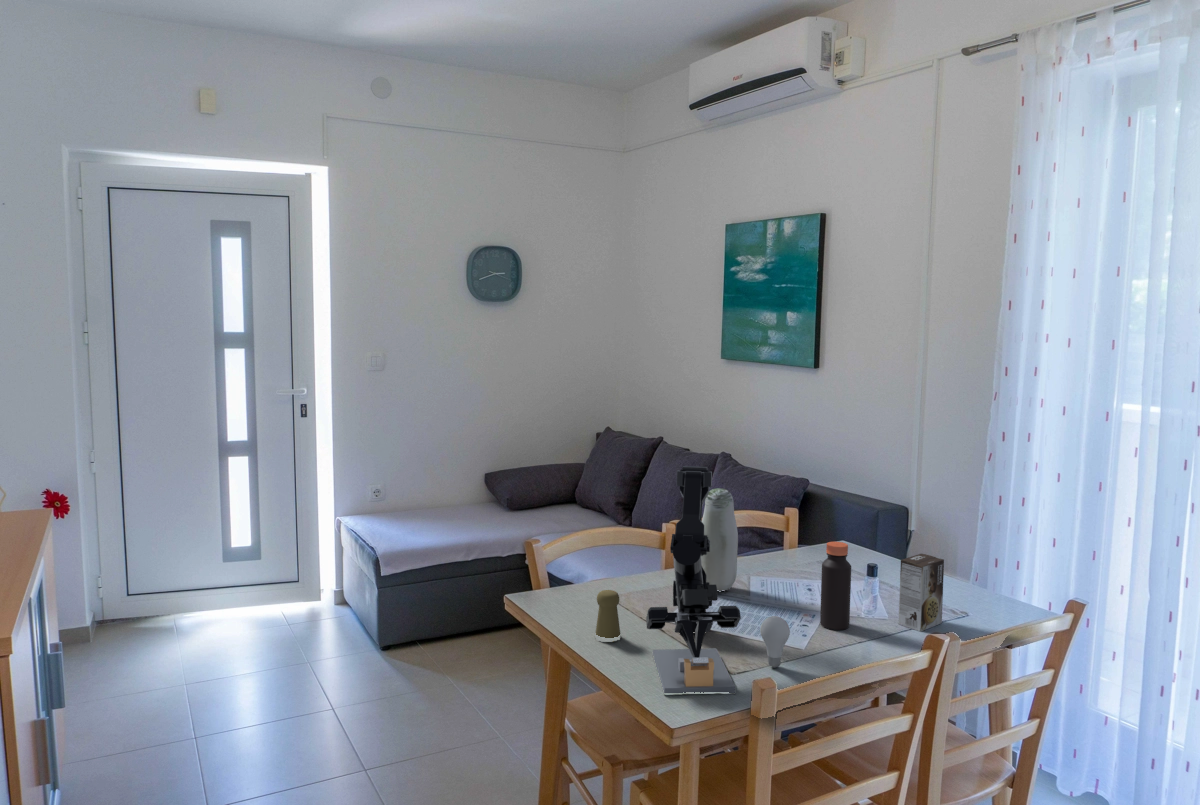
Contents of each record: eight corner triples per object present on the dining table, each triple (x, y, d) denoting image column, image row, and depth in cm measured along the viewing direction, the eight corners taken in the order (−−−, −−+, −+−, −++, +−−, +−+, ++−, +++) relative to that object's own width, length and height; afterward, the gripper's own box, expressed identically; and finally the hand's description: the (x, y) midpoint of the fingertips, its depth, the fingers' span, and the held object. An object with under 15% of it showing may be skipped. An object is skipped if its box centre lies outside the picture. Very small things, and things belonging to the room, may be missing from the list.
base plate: (652, 656, 180) (652, 628, 179) (716, 654, 181) (716, 627, 180) (664, 695, 161) (664, 664, 161) (735, 694, 162) (735, 663, 161)
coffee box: (918, 616, 205) (921, 552, 204) (942, 623, 200) (945, 558, 198) (896, 624, 200) (899, 559, 198) (920, 632, 195) (923, 565, 193)
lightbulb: (784, 661, 178) (786, 611, 177) (792, 673, 172) (793, 622, 171) (756, 661, 178) (757, 611, 176) (763, 673, 171) (764, 622, 170)
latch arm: (685, 667, 170) (685, 662, 170) (700, 666, 170) (699, 661, 170) (693, 663, 160) (692, 657, 161) (708, 662, 160) (708, 657, 161)
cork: (605, 630, 195) (606, 585, 194) (626, 637, 191) (626, 590, 190) (589, 638, 190) (589, 592, 189) (609, 645, 186) (610, 597, 185)
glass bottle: (692, 587, 227) (693, 486, 224) (725, 582, 231) (726, 484, 228) (709, 598, 218) (711, 493, 215) (743, 593, 221) (745, 491, 219)
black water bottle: (838, 632, 194) (841, 549, 192) (814, 624, 199) (816, 543, 197) (855, 626, 198) (857, 544, 196) (831, 618, 203) (833, 538, 201)
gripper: (648, 570, 166) (653, 646, 157) (740, 568, 167) (750, 644, 158) (644, 591, 175) (648, 665, 166) (731, 589, 176) (740, 663, 167)
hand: (696, 659), depth 164 cm, fingers closed, pressing on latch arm
